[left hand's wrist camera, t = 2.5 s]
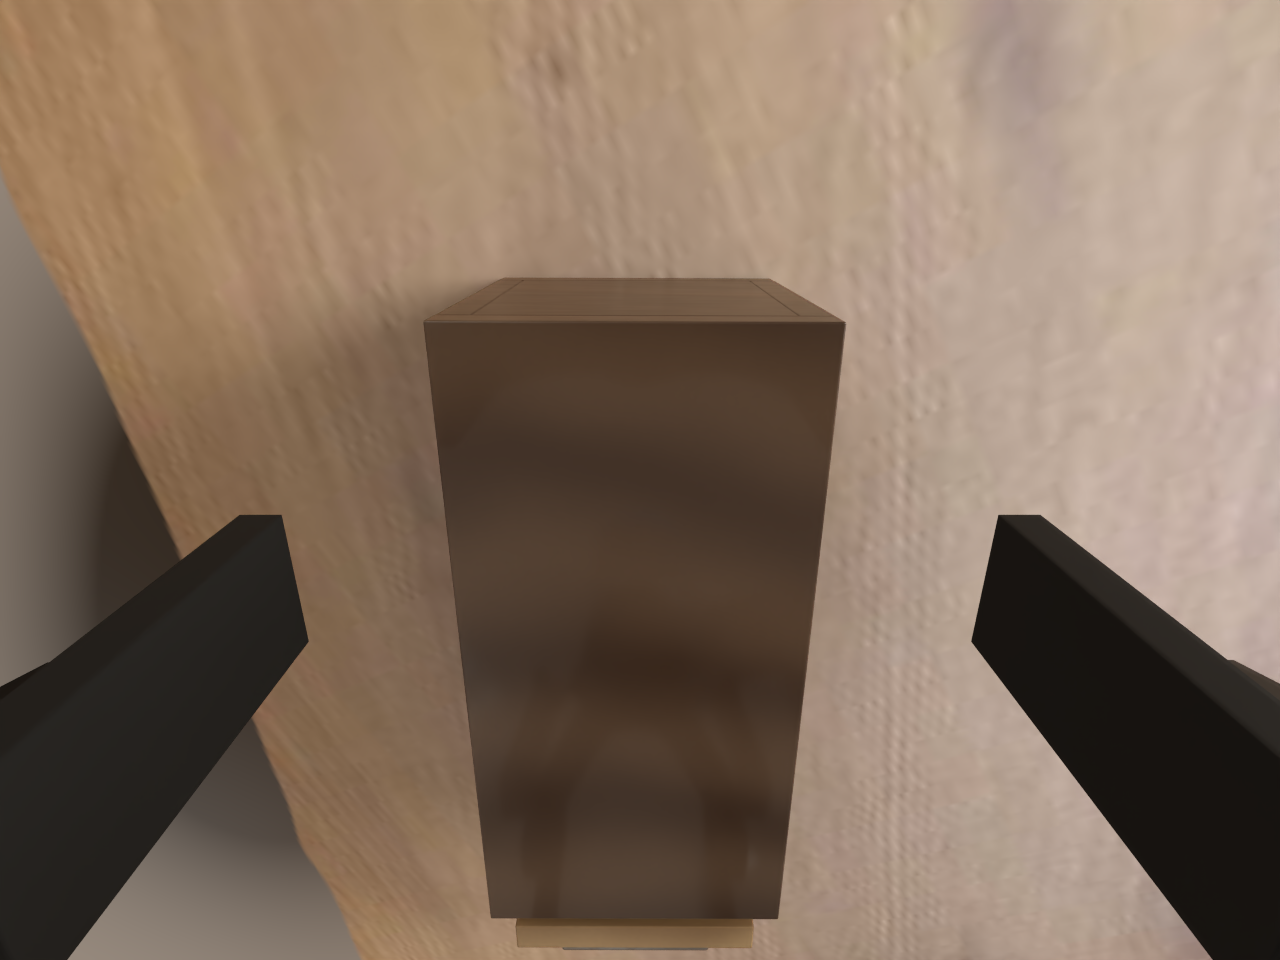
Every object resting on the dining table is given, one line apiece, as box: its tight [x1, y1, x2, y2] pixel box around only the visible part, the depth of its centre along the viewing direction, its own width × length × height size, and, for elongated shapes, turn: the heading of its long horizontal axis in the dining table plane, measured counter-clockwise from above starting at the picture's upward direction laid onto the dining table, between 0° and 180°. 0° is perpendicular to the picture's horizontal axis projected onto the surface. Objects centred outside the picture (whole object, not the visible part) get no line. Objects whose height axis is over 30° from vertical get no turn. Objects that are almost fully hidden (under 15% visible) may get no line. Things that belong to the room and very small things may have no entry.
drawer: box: [516, 918, 754, 950], centre depth 28 cm, size 25×9×8 cm, turn 0°
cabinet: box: [423, 278, 846, 919], centre depth 25 cm, size 21×10×10 cm, turn 0°
